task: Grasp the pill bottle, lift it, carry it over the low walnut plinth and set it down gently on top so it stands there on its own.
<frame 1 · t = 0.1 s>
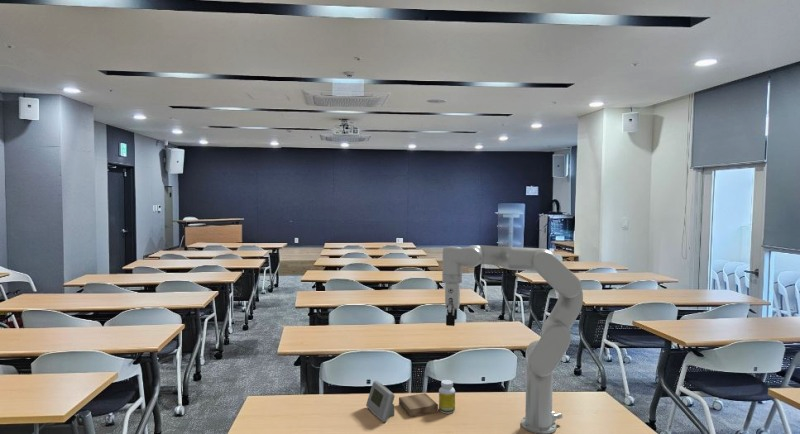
hand: (451, 322, 178), 37 cm above the table, tool pointing down, fingers open, 9 cm apart
walnut block: (418, 408, 187), on the table
pill bottle: (446, 411, 185), on the table
digital clock: (379, 414, 182), on the table
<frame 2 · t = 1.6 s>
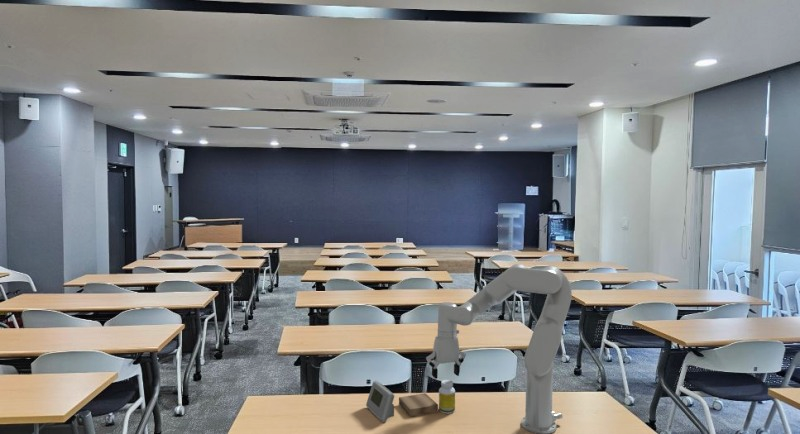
hand: (445, 376, 185), 14 cm above the table, tool pointing down, fingers open, 9 cm apart
nothing on the table moved.
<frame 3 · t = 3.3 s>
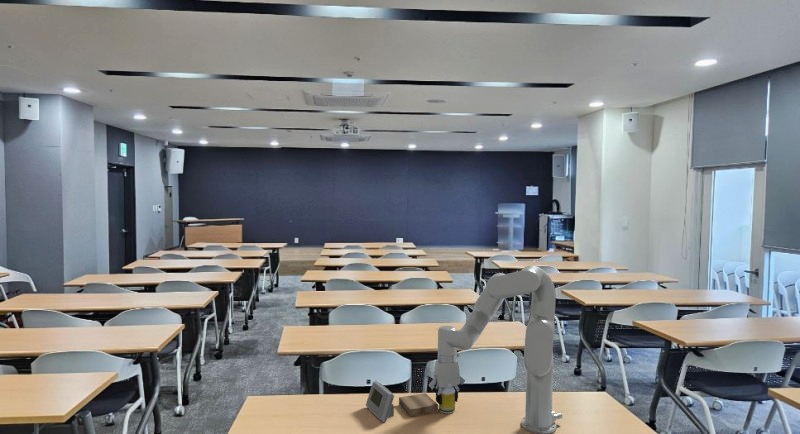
hand: (446, 401, 185), 4 cm above the table, tool pointing down, fingers closed on pill bottle, 6 cm apart
pill bottle: (446, 411, 185), on the table, touching gripper
everything else where it was.
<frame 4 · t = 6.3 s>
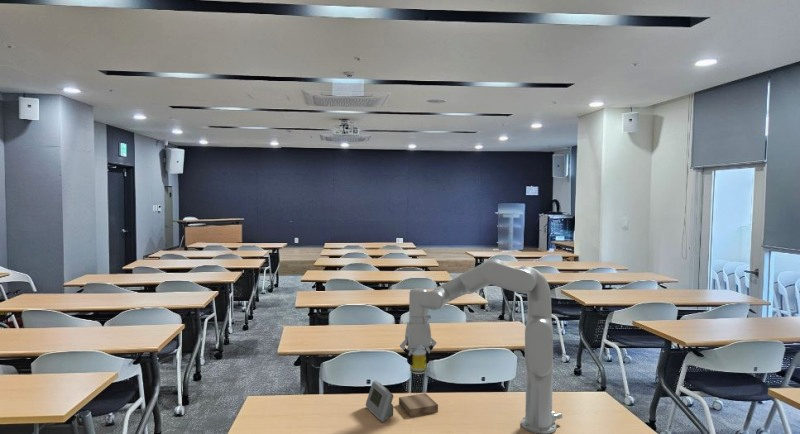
hand: (418, 362, 186), 19 cm above the table, tool pointing down, fingers closed on pill bottle, 6 cm apart
pill bottle: (418, 372, 187), point 15 cm above the table, touching gripper
everything else where it was.
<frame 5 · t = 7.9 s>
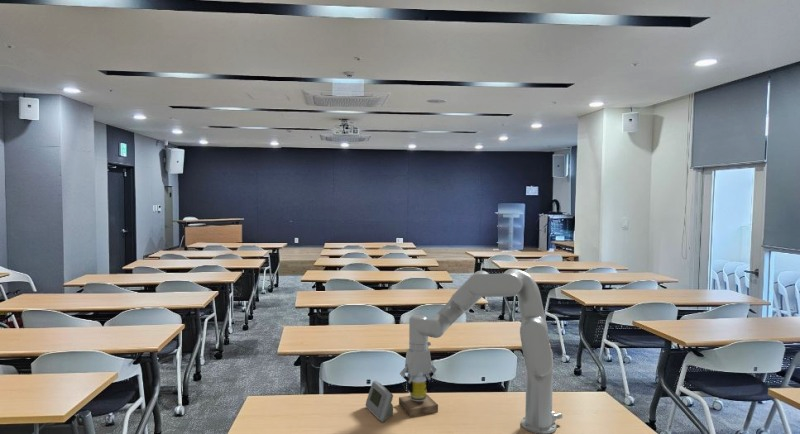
hand: (418, 389, 187), 8 cm above the table, tool pointing down, fingers closed on pill bottle, 6 cm apart
pill bottle: (418, 399, 187), point 4 cm above the table, touching gripper
everything else where it was.
when the fingers open (7 cm above the table, at t = 9.4 s): pill bottle stays where it is, resting on walnut block.
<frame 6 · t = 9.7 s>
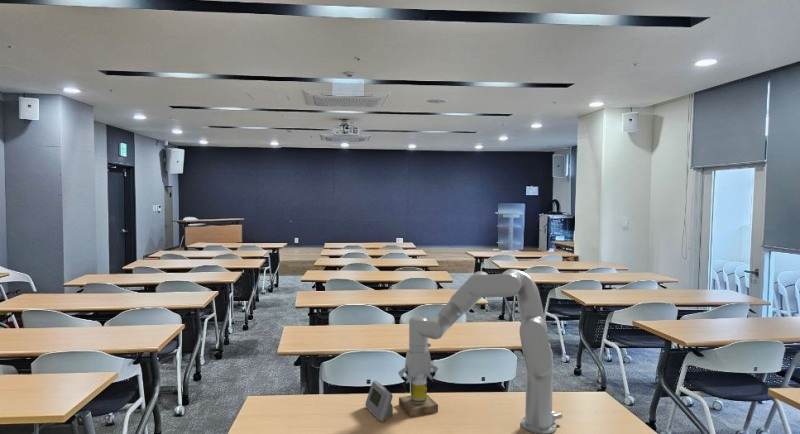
hand: (418, 389, 187), 8 cm above the table, tool pointing down, fingers open, 8 cm apart
pill bottle: (418, 401, 187), point 3 cm above the table, touching walnut block
everything else where it was.
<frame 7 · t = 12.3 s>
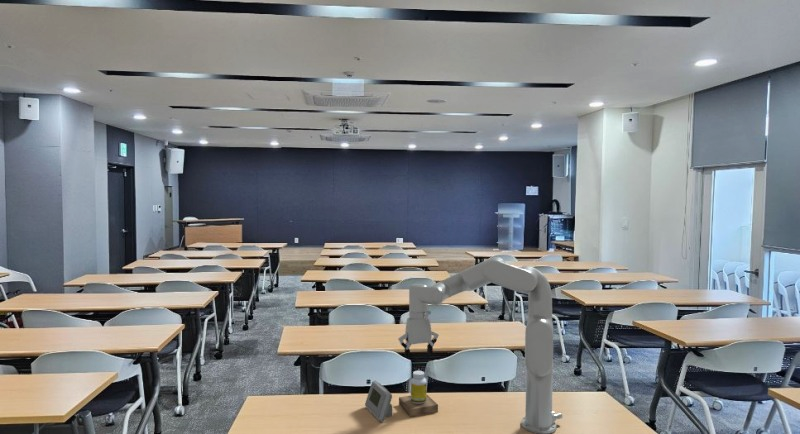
hand: (418, 356, 186), 21 cm above the table, tool pointing down, fingers open, 9 cm apart
nothing on the table moved.
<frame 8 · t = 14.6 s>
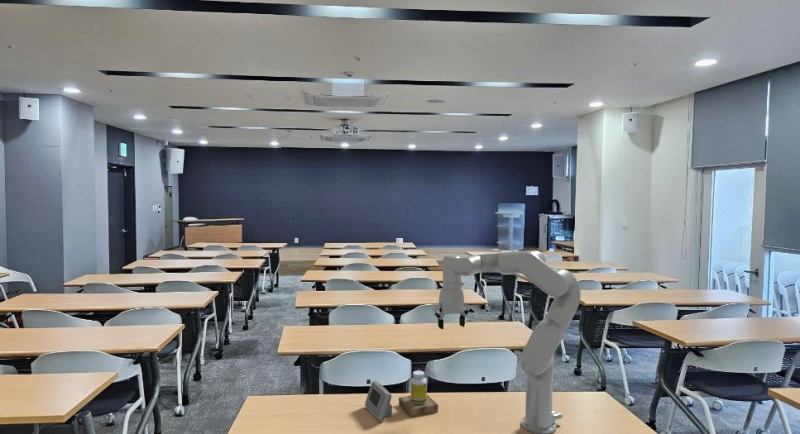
hand: (451, 327, 189), 32 cm above the table, tool pointing down, fingers open, 9 cm apart
nothing on the table moved.
at the end: pill bottle 0.2 cm from the walnut block (horizontally); pill bottle touching walnut block; pill bottle tilted 0° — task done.
